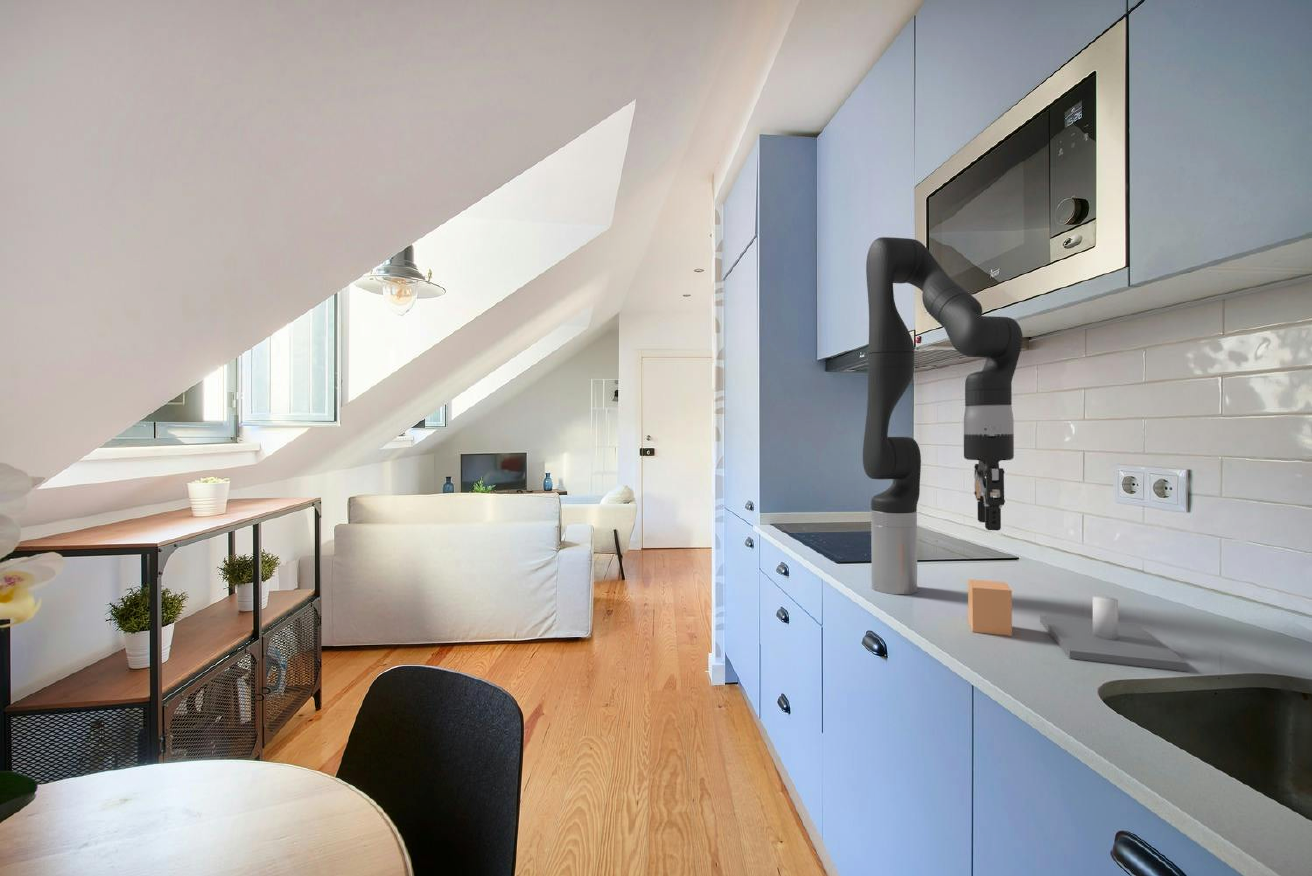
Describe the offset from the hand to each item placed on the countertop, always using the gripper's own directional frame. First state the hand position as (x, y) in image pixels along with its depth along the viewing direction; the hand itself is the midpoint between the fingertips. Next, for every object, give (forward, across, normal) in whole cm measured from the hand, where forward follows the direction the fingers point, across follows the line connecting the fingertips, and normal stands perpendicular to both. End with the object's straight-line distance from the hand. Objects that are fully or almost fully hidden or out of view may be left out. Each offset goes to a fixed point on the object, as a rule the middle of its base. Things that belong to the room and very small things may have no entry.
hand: (988, 526), depth 101 cm
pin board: (+18, +2, +16) cm, 24 cm away
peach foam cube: (+18, 0, 0) cm, 18 cm away
